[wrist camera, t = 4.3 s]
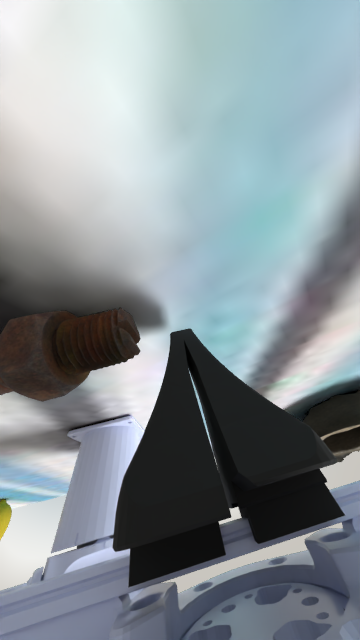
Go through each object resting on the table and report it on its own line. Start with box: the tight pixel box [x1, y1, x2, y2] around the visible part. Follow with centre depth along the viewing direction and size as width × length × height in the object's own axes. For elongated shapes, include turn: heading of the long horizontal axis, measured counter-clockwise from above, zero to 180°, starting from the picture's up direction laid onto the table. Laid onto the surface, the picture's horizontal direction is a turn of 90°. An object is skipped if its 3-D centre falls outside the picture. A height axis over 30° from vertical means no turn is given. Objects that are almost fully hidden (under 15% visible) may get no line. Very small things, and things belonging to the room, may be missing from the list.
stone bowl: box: [303, 390, 360, 465], centre depth 32 cm, size 25×25×9 cm
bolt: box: [0, 308, 140, 401], centre depth 8 cm, size 6×5×15 cm
